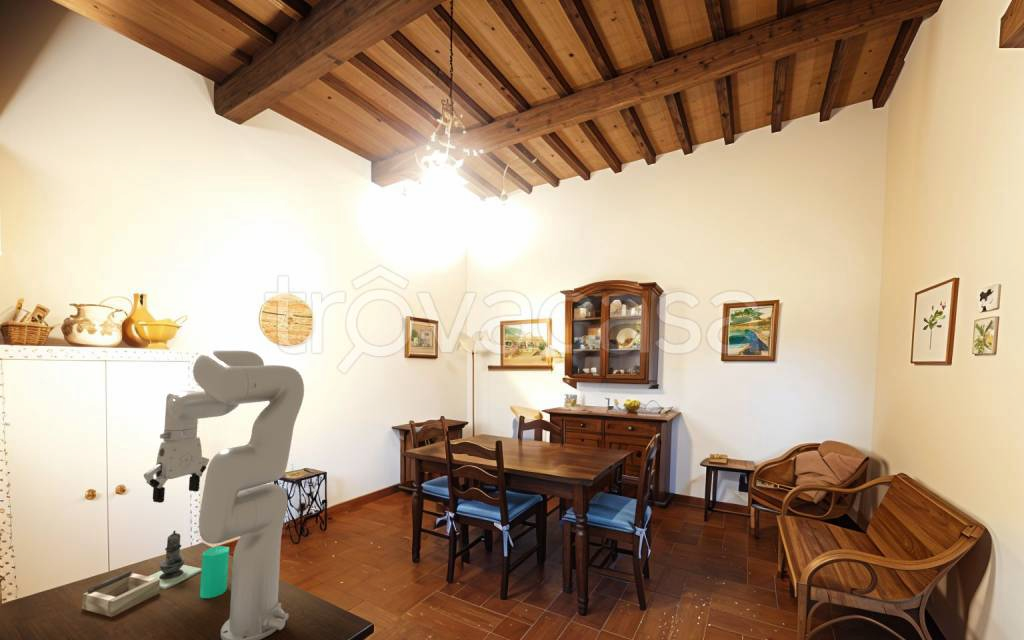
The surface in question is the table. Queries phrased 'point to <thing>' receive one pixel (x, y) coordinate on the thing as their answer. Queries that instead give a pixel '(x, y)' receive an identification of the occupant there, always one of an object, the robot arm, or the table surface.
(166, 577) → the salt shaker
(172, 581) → the mat
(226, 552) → the candle
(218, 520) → the robot arm
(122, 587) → the holder
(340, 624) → the table surface
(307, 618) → the table surface
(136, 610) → the table surface
